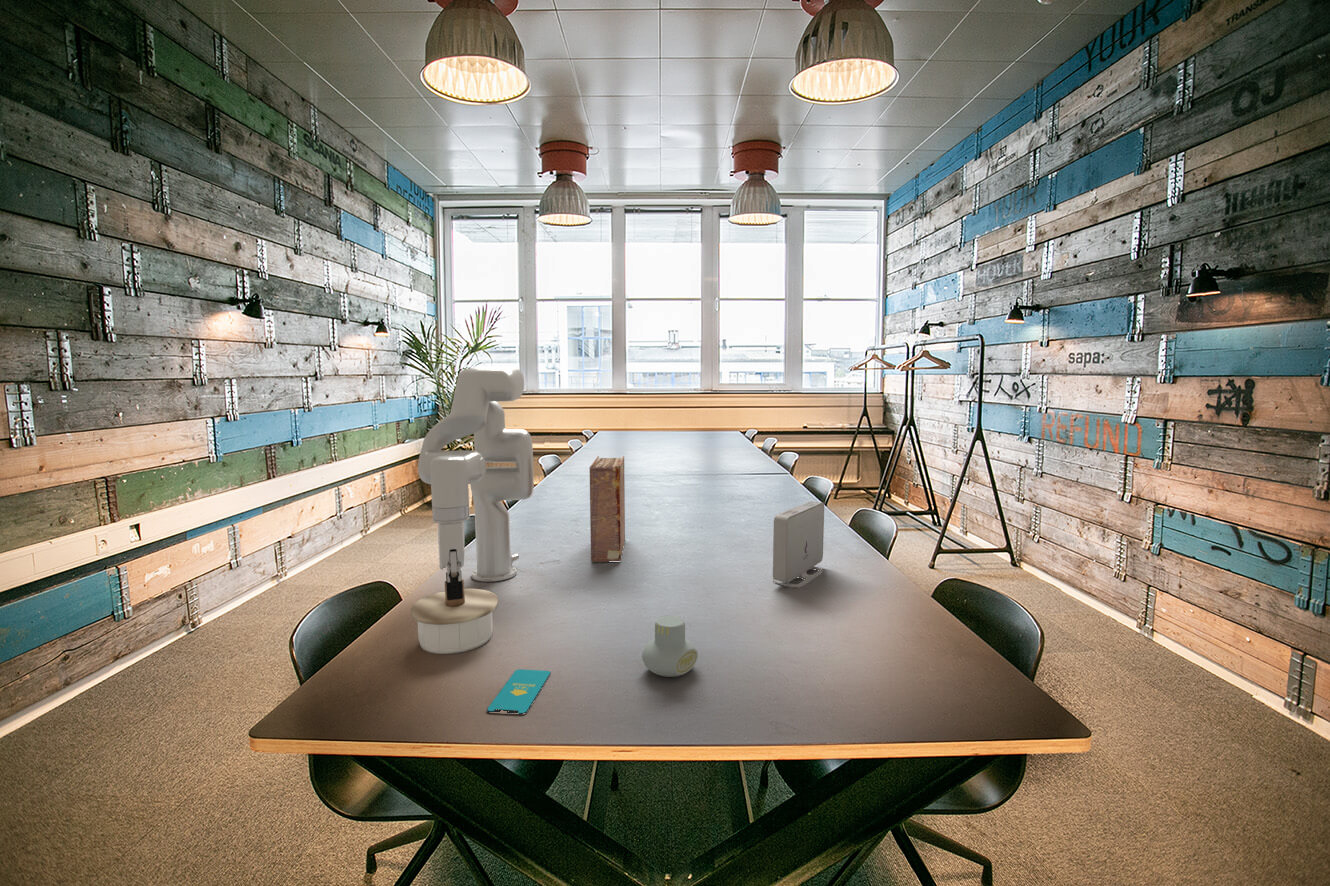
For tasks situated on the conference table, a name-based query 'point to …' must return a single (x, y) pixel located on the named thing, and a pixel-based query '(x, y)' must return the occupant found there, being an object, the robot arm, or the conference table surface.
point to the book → (607, 509)
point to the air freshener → (669, 649)
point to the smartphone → (519, 691)
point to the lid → (454, 607)
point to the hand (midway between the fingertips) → (454, 593)
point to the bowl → (455, 635)
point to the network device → (798, 543)
